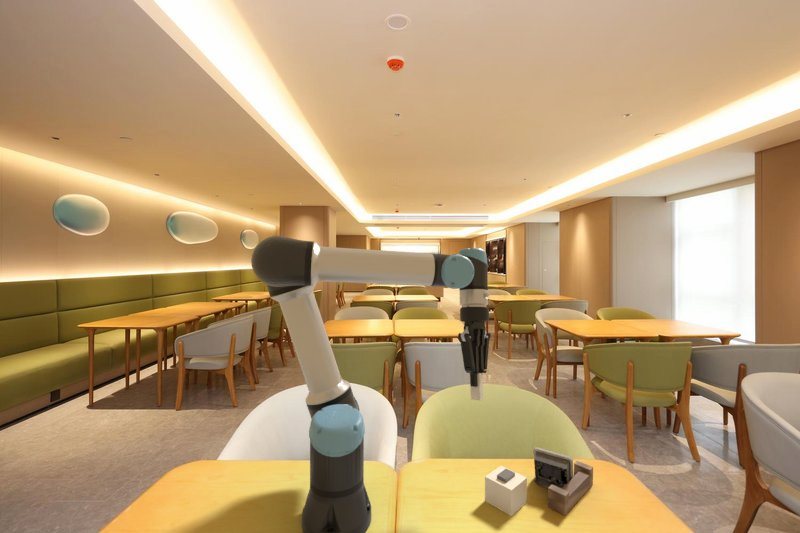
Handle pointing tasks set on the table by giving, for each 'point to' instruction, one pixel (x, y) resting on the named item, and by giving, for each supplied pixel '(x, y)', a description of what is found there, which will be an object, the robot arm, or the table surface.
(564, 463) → the electrical switch
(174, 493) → the table surface
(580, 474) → the bracket
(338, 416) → the robot arm
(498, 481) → the socket block
